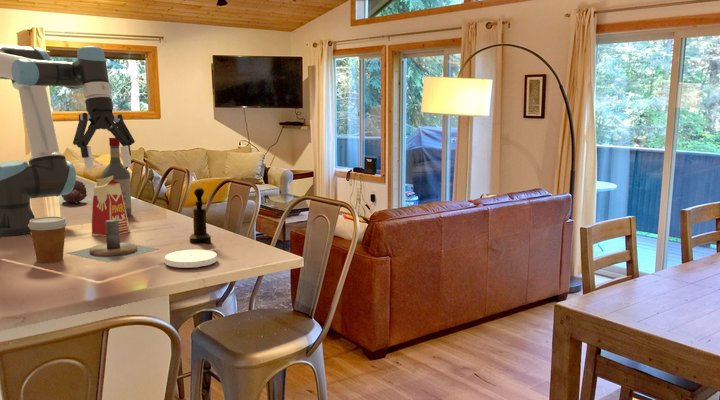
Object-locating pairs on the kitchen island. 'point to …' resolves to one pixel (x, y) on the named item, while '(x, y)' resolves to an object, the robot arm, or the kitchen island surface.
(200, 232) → the black pedestal statuette
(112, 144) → the liquor
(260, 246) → the kitchen island surface
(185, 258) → the plastic lid
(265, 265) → the kitchen island surface
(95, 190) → the milk carton
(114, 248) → the wooden lid with knob
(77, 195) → the pine cone
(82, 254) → the slate mat
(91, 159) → the robot arm
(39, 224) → the disposable coffee cup
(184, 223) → the kitchen island surface
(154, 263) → the kitchen island surface
